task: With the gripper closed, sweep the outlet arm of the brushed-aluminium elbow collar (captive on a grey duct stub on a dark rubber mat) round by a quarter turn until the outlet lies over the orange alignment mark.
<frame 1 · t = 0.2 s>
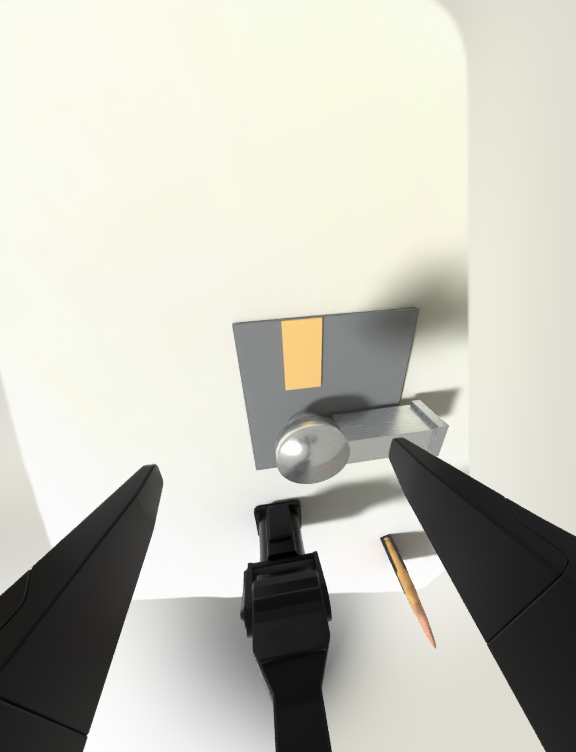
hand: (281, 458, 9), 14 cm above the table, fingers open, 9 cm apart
ammunition clip: (389, 547, 45), on the table
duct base: (302, 422, 27), on the table
elbow: (354, 437, 24), point 3 cm above the table, hinge at -90.0°
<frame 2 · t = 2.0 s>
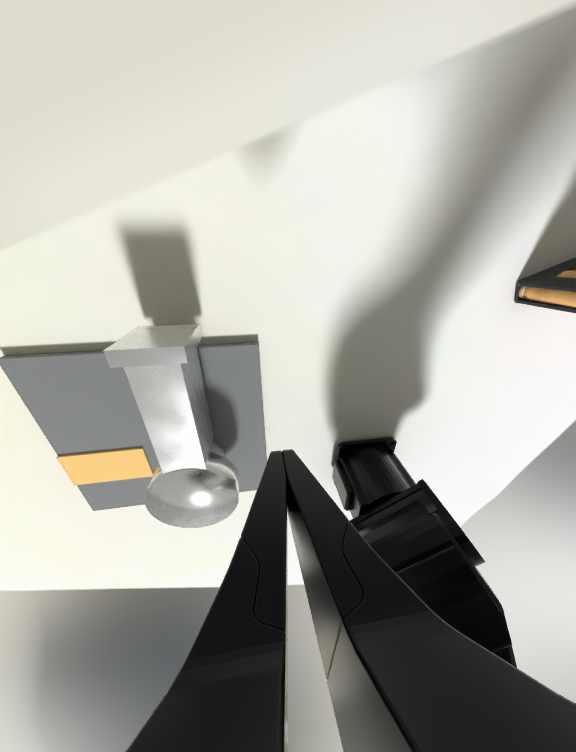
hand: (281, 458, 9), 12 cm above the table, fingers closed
ammunition clip: (573, 267, 20), on the table
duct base: (204, 450, 23), on the table
elbow: (186, 438, 18), point 3 cm above the table, hinge at -90.0°
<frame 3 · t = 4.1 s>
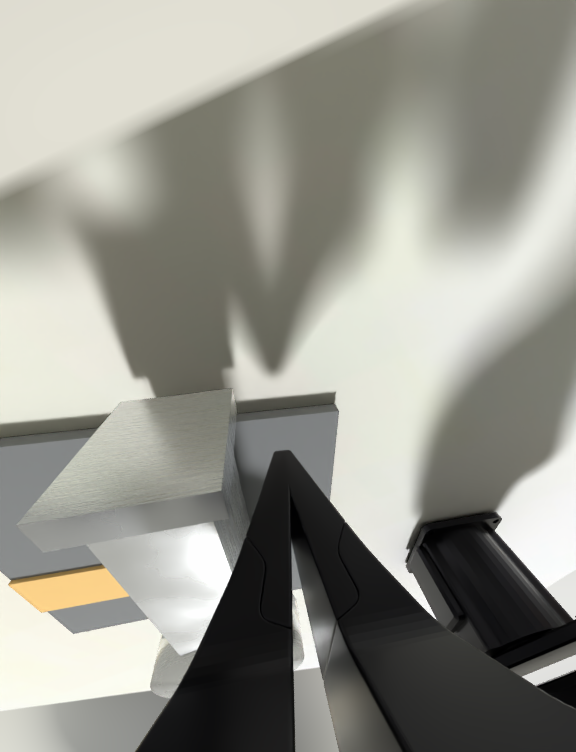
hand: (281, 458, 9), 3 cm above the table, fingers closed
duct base: (236, 548, 16), on the table
elbow: (216, 574, 11), point 3 cm above the table, hinge at -87.5°, touching gripper
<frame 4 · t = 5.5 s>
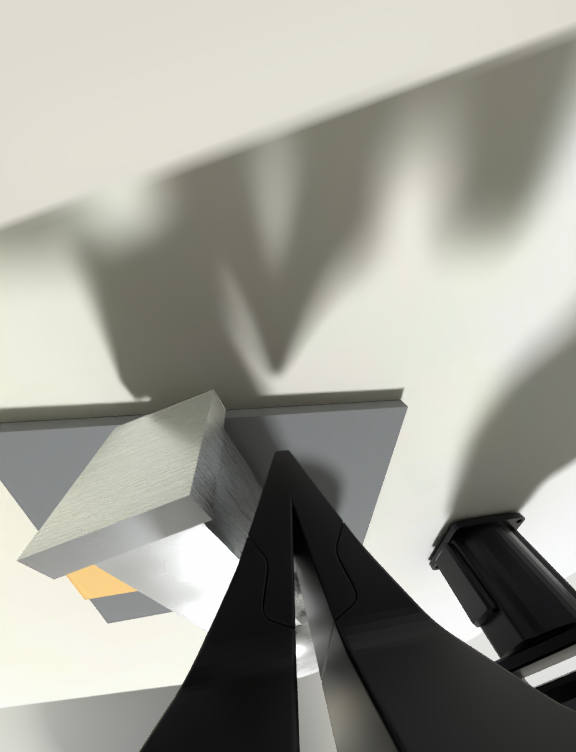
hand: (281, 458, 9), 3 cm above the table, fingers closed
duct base: (279, 539, 16), on the table
elbow: (253, 569, 11), point 3 cm above the table, hinge at -68.3°, touching gripper
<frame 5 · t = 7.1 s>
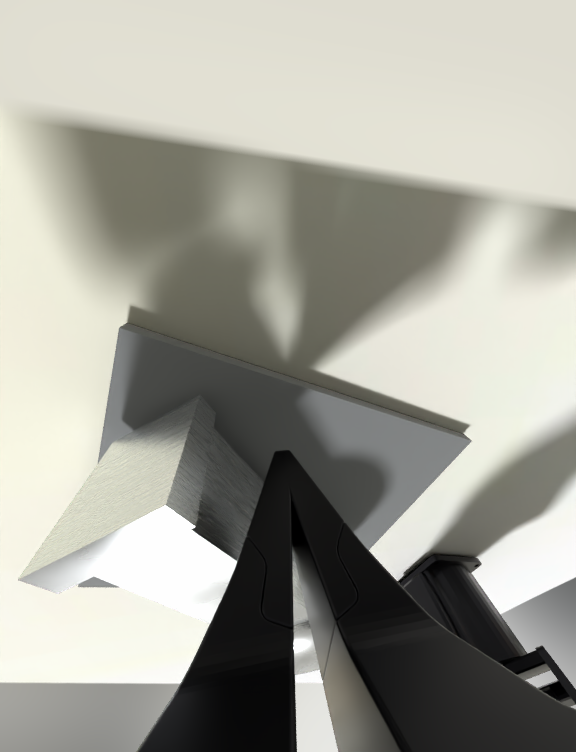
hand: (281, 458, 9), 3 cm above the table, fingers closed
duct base: (296, 534, 16), on the table
elbow: (266, 566, 11), point 3 cm above the table, hinge at -38.6°, touching gripper
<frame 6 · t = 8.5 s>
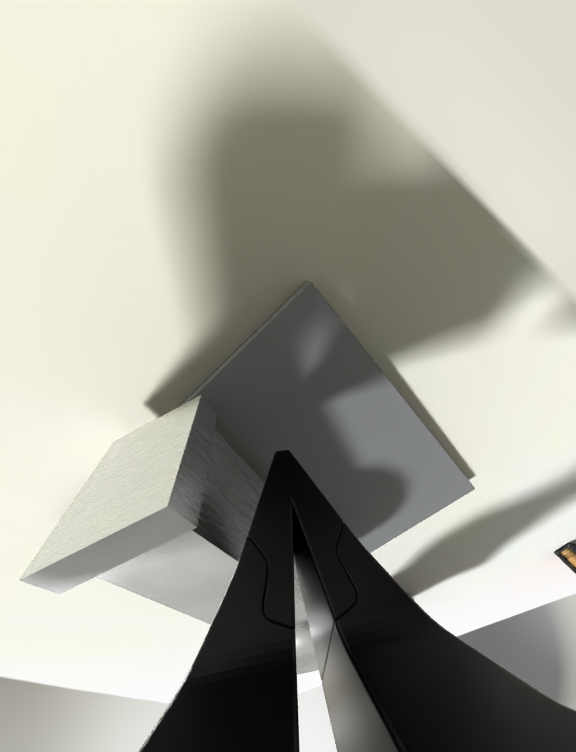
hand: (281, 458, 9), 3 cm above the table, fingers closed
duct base: (296, 534, 16), on the table
elbow: (267, 566, 11), point 3 cm above the table, hinge at -15.3°, touching gripper
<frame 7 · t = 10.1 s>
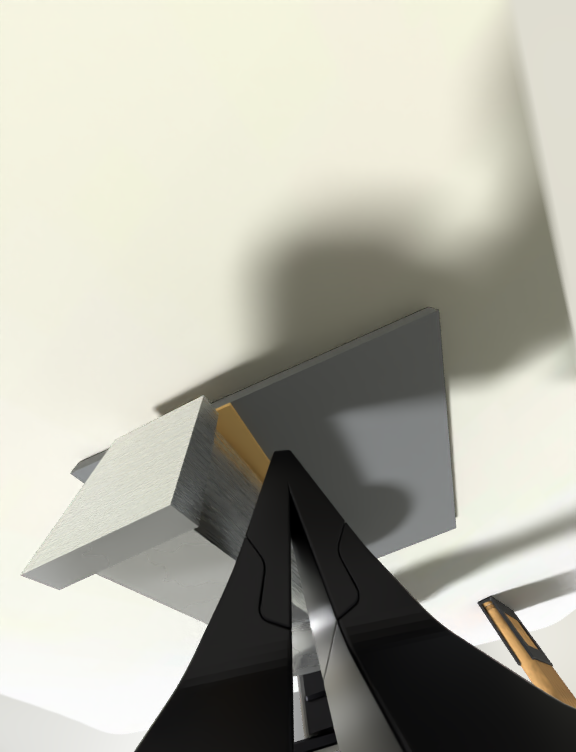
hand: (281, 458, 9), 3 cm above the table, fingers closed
ammunition clip: (494, 604, 32), on the table
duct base: (294, 535, 16), on the table
elbow: (264, 567, 11), point 3 cm above the table, hinge at 2.9°, touching gripper
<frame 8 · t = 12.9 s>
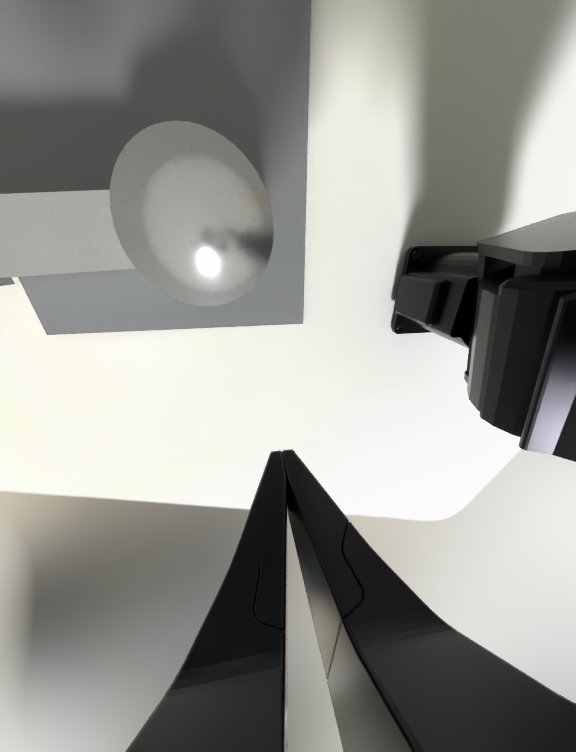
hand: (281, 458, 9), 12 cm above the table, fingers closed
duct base: (213, 234, 16), on the table
elbow: (109, 236, 12), point 3 cm above the table, hinge at 3.0°
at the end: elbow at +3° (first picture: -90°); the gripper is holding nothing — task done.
